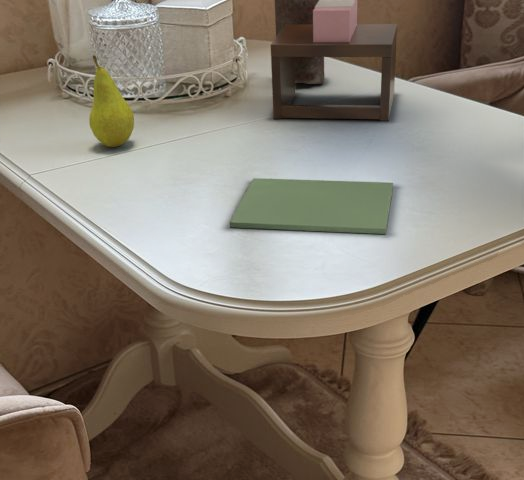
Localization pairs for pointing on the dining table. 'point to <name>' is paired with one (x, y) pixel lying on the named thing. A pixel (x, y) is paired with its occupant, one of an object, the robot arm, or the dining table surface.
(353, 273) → the dining table surface
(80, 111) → the dining table surface
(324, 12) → the block
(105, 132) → the fruit
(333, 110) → the shelf stand
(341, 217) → the placemat
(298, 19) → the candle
